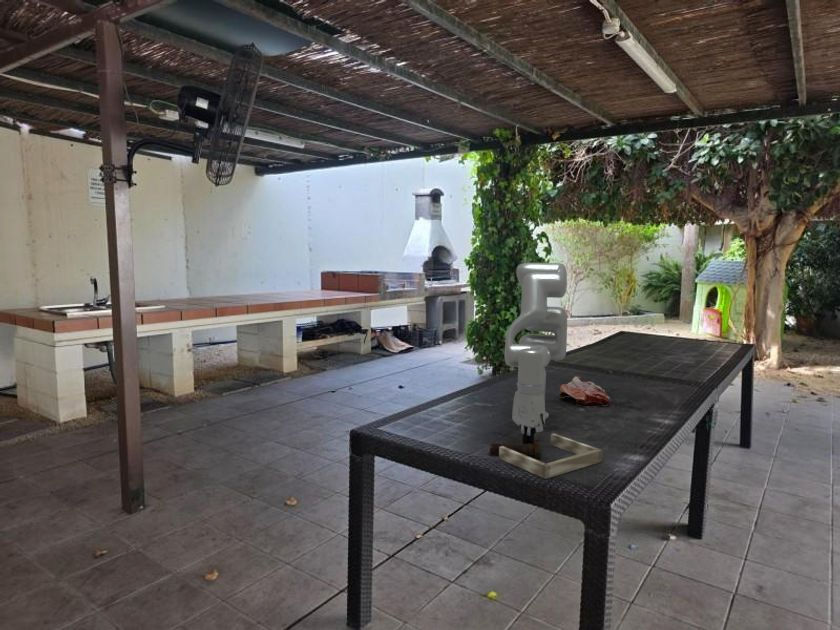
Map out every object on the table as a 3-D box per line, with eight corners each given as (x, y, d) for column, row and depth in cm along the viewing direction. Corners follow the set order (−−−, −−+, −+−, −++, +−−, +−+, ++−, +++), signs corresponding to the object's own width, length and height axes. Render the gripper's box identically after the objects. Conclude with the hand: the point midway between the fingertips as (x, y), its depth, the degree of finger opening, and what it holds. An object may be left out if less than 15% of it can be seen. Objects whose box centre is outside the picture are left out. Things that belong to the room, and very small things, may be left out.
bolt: (489, 459, 165) (539, 460, 163) (489, 456, 160) (540, 457, 158) (489, 440, 167) (538, 441, 165) (489, 437, 163) (539, 438, 161)
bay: (498, 458, 160) (499, 446, 160) (553, 444, 174) (554, 433, 173) (545, 479, 145) (546, 466, 145) (601, 461, 158) (602, 450, 158)
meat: (620, 402, 229) (621, 379, 228) (598, 411, 214) (599, 387, 213) (575, 393, 244) (576, 372, 243) (551, 402, 228) (552, 378, 227)
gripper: (504, 385, 169) (502, 441, 171) (539, 395, 157) (537, 456, 158) (521, 382, 173) (519, 437, 175) (557, 392, 161) (554, 451, 163)
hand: (528, 446), depth 167 cm, fingers closed
